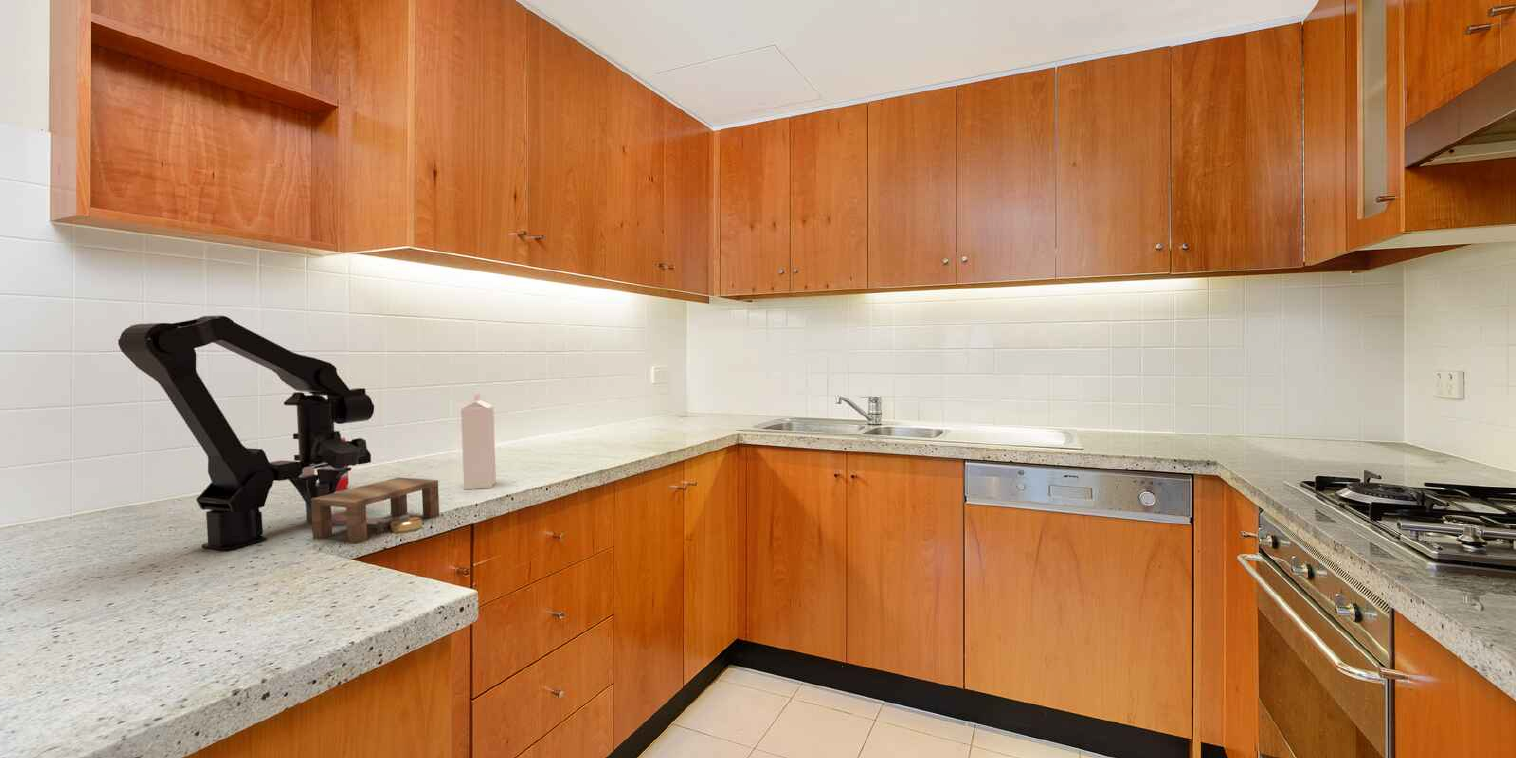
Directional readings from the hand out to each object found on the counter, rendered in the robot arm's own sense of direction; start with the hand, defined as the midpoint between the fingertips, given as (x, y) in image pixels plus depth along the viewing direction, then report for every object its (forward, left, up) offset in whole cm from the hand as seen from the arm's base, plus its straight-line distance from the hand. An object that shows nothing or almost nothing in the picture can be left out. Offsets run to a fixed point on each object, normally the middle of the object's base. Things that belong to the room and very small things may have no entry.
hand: (320, 507), depth 121 cm
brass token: (0, -21, -3) cm, 21 cm away
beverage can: (+21, +22, -3) cm, 31 cm away
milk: (+33, -9, -3) cm, 34 cm away
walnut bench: (0, -15, -2) cm, 15 cm away
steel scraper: (0, -8, -3) cm, 9 cm away
